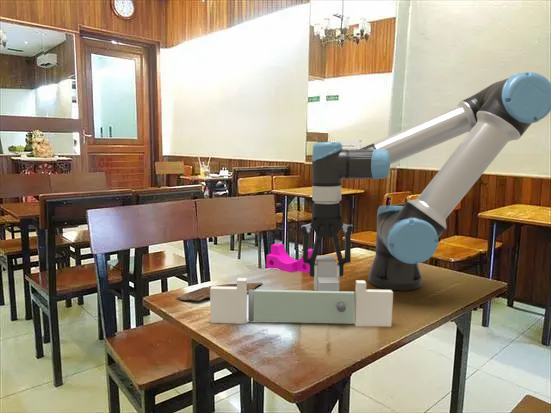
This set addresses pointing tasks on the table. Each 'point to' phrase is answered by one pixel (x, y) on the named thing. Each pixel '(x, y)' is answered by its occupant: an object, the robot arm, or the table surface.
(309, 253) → the magenta saddle bracket
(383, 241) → the robot arm
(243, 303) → the wall frame
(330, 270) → the white stepped block
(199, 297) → the wooden fragment
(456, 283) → the table surface
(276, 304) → the spring door
